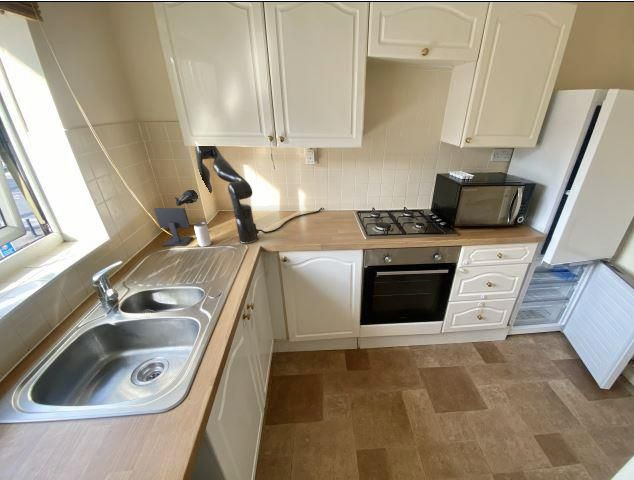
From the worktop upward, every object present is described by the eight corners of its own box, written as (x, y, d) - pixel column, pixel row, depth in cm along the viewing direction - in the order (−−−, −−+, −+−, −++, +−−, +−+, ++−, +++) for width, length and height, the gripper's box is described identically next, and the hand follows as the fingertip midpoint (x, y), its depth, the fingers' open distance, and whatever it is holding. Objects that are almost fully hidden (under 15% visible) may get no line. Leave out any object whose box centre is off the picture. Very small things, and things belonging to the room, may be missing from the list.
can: (199, 242, 158) (193, 223, 152) (212, 241, 160) (206, 221, 154) (198, 247, 153) (192, 227, 147) (211, 245, 155) (206, 225, 149)
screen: (161, 227, 156) (154, 208, 151) (190, 226, 157) (184, 207, 151) (160, 228, 155) (153, 208, 150) (189, 227, 155) (183, 208, 150)
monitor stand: (172, 238, 163) (166, 219, 157) (193, 238, 164) (187, 218, 158) (163, 246, 155) (156, 225, 149) (185, 245, 155) (178, 225, 149)
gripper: (179, 189, 172) (164, 197, 157) (201, 189, 172) (187, 197, 157) (183, 201, 175) (168, 210, 160) (204, 201, 176) (191, 210, 161)
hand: (178, 204), depth 159 cm, fingers closed
